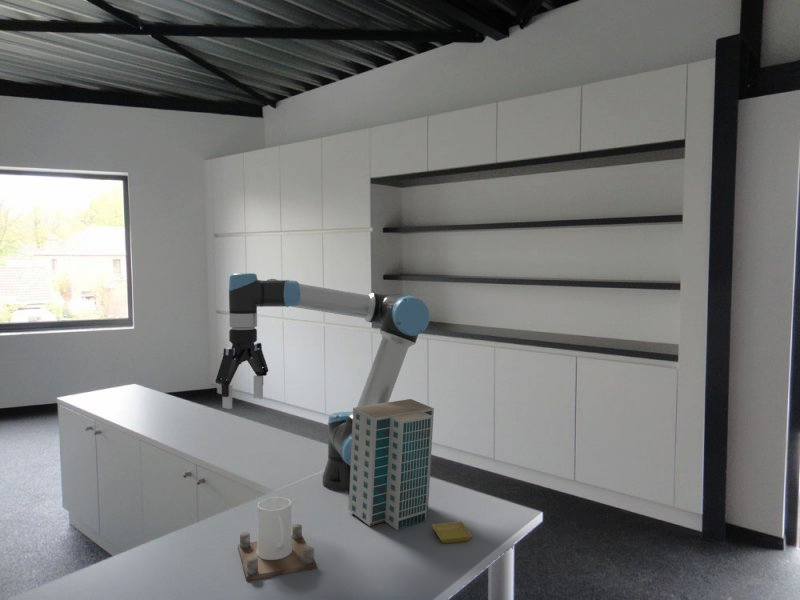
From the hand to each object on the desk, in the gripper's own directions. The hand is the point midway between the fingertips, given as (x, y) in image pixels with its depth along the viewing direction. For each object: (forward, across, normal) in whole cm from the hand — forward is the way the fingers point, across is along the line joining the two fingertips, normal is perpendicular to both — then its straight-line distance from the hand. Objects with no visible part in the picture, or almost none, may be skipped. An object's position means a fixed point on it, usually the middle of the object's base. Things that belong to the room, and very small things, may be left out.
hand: (243, 403), depth 162 cm
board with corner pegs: (+32, +18, +23) cm, 43 cm away
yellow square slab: (+32, -11, +59) cm, 68 cm away
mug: (+31, +18, +24) cm, 43 cm away
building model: (+31, -16, +40) cm, 53 cm away
